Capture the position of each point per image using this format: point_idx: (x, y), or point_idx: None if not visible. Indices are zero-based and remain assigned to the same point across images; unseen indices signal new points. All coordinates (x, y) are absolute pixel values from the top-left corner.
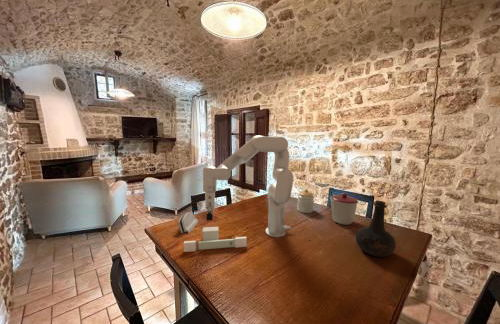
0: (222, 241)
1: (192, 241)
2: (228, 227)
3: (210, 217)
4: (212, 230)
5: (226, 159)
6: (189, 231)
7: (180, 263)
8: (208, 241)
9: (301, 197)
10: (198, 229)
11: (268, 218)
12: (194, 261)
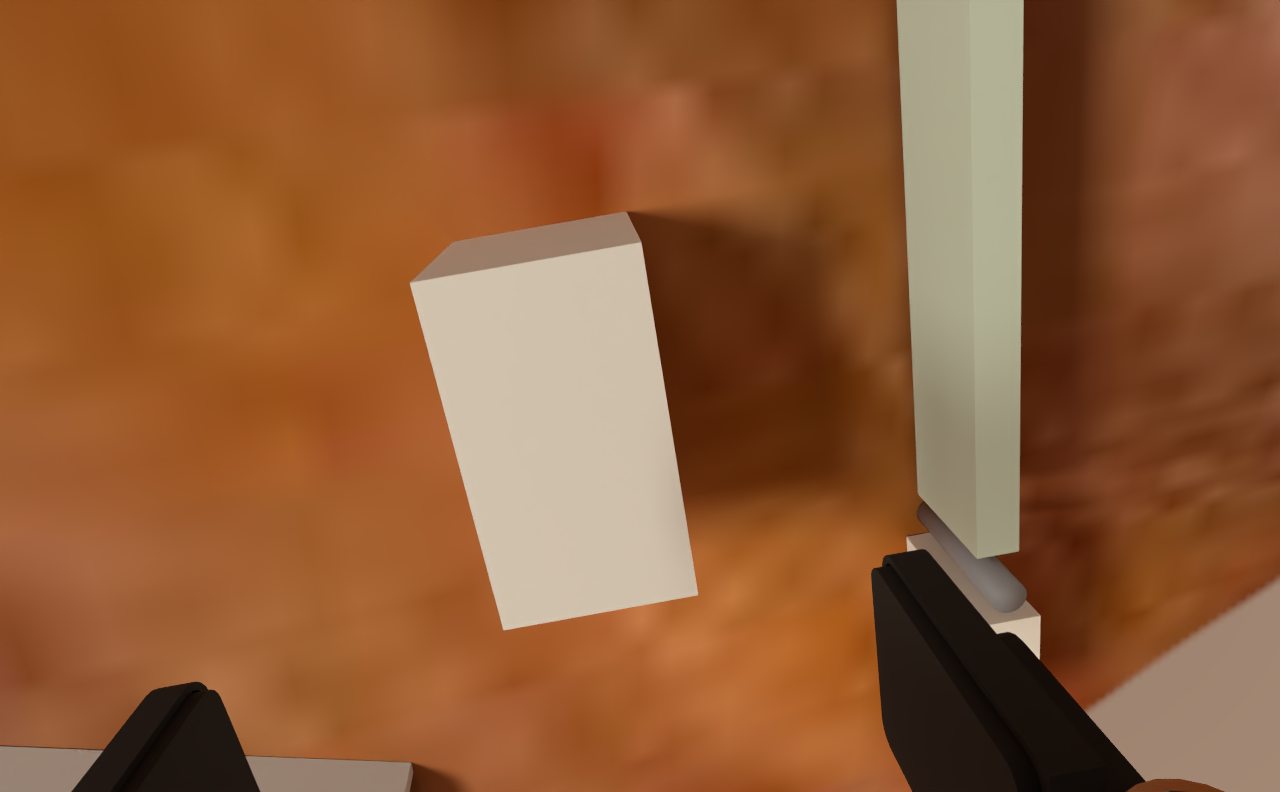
0: (1013, 79)
1: None
2: (8, 44)
3: (1053, 692)
4: (642, 396)
5: None
6: (376, 773)
7: (1204, 625)
8: (1003, 388)
9: None
10: (256, 660)
11: None
12: (1207, 473)
